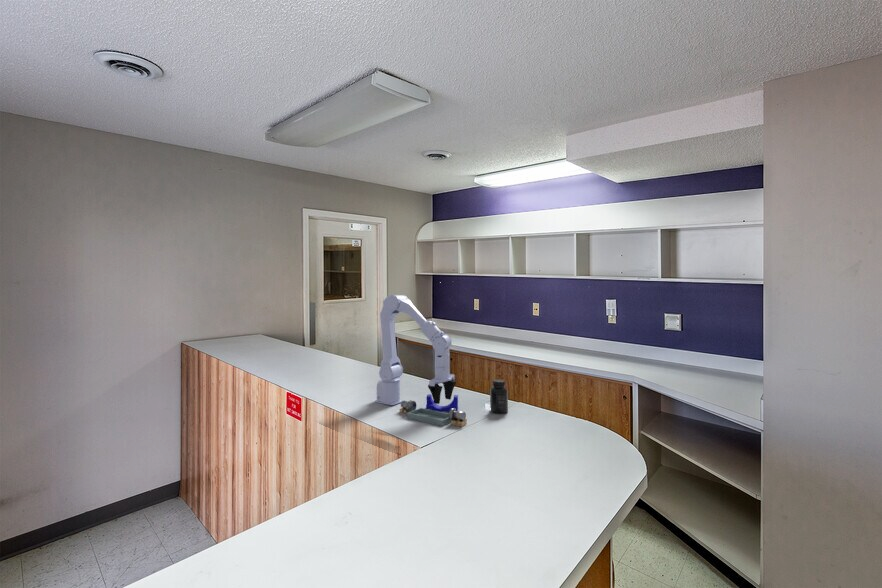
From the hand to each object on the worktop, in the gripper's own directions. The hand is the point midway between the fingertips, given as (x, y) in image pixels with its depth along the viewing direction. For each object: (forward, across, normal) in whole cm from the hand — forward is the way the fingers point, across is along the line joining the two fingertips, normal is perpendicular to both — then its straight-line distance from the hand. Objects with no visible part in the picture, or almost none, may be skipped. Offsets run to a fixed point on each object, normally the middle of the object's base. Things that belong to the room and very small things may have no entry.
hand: (442, 401), depth 160 cm
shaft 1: (+4, -10, +7) cm, 13 cm away
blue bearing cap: (+4, 0, 0) cm, 4 cm away
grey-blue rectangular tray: (+4, -10, -2) cm, 11 cm away
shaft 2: (+4, -10, -11) cm, 15 cm away
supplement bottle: (+4, +13, -18) cm, 22 cm away
